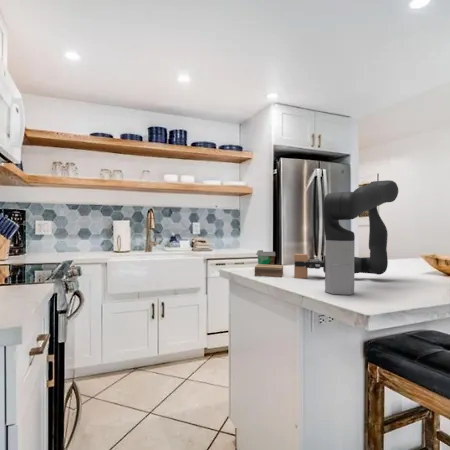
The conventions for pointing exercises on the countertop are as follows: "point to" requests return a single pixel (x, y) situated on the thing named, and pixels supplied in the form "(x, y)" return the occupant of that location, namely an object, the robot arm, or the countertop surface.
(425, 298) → the countertop surface
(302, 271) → the orange brick
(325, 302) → the countertop surface
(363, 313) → the countertop surface
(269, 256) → the food container
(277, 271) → the walnut base block
